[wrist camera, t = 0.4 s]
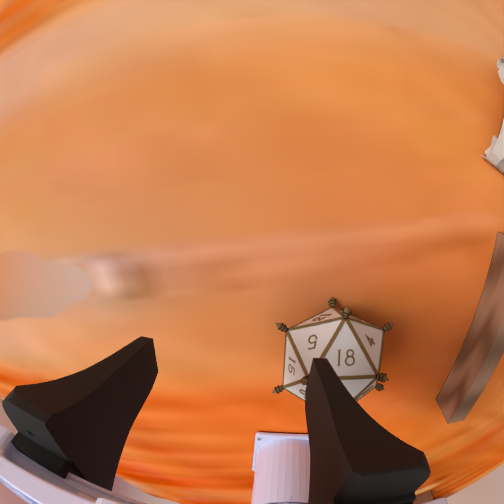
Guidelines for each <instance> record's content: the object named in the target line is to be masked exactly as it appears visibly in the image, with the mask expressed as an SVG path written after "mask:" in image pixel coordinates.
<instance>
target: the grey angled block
mask: <svg viewBox="0 0 504 504" xmlns="http://www.w3.org/2000/svg"><path fill="white" fill-rule="evenodd" d="M432 500H434V499H433V495H432V492H431V490H430V491H428V492H426V493H423V494H421V495H419V496H416V500H415V501H413V504H422V503H425V502H429V501H432Z"/></svg>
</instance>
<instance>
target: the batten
mask: <svg viewBox="0 0 504 504" xmlns="http://www.w3.org/2000/svg"><path fill="white" fill-rule="evenodd" d="M503 352H504V233H501V232H498V233H497V238H496V243H495V248H494V252H493V256H492V260H491V264H490V268H489V272H488V275H487V279H486V282H485V286H484V289H483V292H482V295H481V298H480V301H479V304H478V307H477V310H476V313H475V316H474V318H473V321H472V324H471V326H470V329H469V331H468V334H467V336H466V339H465V341H464V343H463V346H462V348H461V350H460V352H459V355H458V357H457V359H456V361H455V363H454V365H453V367H452V369H451V372H450V374H449V375H448V377H447V379H446V381H445V383H444V385H443V387H442V389H441V391H440V393H439V394H438V396H437V398H436V400H437V402H438V405H439V407H440V409H441V411H442V413H443V415H444V417H445V419H446V421H447V424H449V423H453V422H457V421H461V420H464V419H465V418H466V416H467V415H468V413H469V412H470V410H471V409H472V407H473V406H474V404H475V402H476V401H477V399H478V398H479V396H480V394H481V393H482V391H483V389H484V388H485V386H486V384H487V383H488V381H489V379H490V377H491V375H492V374H493V372H494V370H495V368H496V366H497V364H498V362H499V360H500V358H501V356H502V354H503Z"/></svg>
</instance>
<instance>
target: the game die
mask: <svg viewBox="0 0 504 504" xmlns="http://www.w3.org/2000/svg"><path fill="white" fill-rule="evenodd" d="M335 302H336V301H335V300H334V299H333V297H332V298H331V300H330V301H329V305H330V308H329V309H327V310H325V311H323V312H321V313H319V314H317V315H315V316H313V317H311V318H309V319H307V320H305V321H303V322H301V323H299V324H296V325H294V326H292V327H290V328H287V327H286V325H284V324H283V323H276V325H277V327H278V330H279V329H280V330H281V331H284V332H286V335H285V352H284V368H283V383H282V385H281V386H279V385H278V387H275V389H274V390H273V392H272V393H278V394H279V392H282V390H283V389H285V390H287V391H288V392H290V393H292V394H293V395H295V396H297V397H298V398H300V399H302V400H303V401H305V390H306V386H307V381H308V377H309V373H310V369H311V364H312V360H313V358H327V359H328V361H329V362H330V364H331V366H332V367H333V369H334V371H335V372H336V374H337V375H338V377H339V378H340V380H341V381H342V383H343V384H344V386H345V387H346V388H347V390H348V391H349V393H350V394H351V395H352V397H353V398H354V399H355V400H356V401H358V400H359V399H361V398H362V397H363V396H364V395H366V394H367V393H368V392H370V391H371V390H372V389H373V388H376V390H378V391H380V390H384V388H383V385H382V384H380V383H379V384H378V381H381V382H385V381H388V380H389V379H388V377H387V375H386V373H385V374H383V373H381V374H380V368H381V360H382V352H383V342H384V332H385V331H389V330H390V329H391V328H392V325H393V323H387V324H386V325H384V327H383V328H381V327H379V326H376V325H374V324H372V323H369V322H367V321H365V320H363V319H360V318H358V317H356V316H354V315H351V314H350V313H351V310H350V309H349V307H348V306H347V307H346V308H343V311H342V310H340V309H338V308H335V305H336V304H335Z"/></svg>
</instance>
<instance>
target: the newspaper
mask: <svg viewBox="0 0 504 504" xmlns="http://www.w3.org/2000/svg"><path fill="white" fill-rule="evenodd" d="M496 66H497V67H498V68H499V71H498V73H499V76H500V79H501V82H502V83H503V84H504V58H500V59H498V62H497V65H496ZM484 153H485V154H486V157H484V156H481V157H483V158H484V159H485V160H486V161H488V162H489V163H490V164H492V165H493V166H494V167H495V168H497V169H498V170H499V171H500V172H501V173H503V174H504V120H503V124H502V127H501V131H500V134H499V137H498V138H497V137H496V136H494V135H493V139H492V143H491V147H489V148H488V149H487V150H485V152H484Z"/></svg>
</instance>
